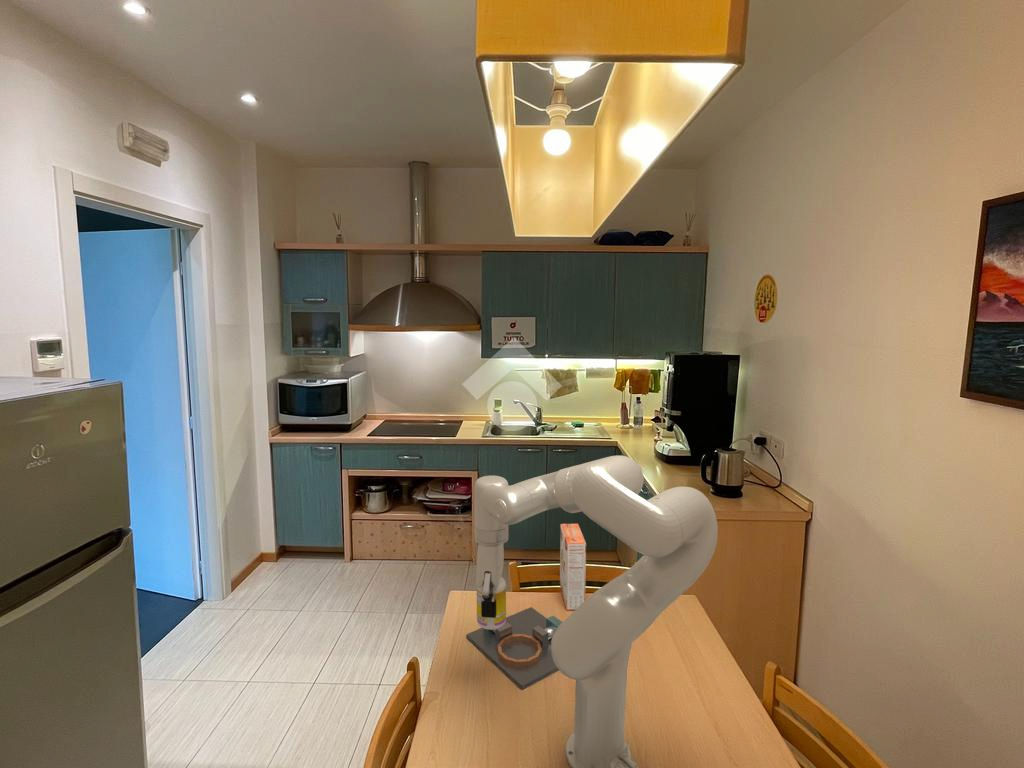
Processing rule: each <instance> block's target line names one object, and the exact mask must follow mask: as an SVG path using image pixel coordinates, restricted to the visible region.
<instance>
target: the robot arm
mask: <svg viewBox="0 0 1024 768" xmlns="http://www.w3.org/2000/svg"><path fill="white" fill-rule="evenodd" d="M644 479H645V478H644V472H643V468H642V467H641V466H640V465H639V463H638V462H637V461H635V460H634V459H633V458H631V457H630V456H625V455H611V456H606V457H602V458H599V459H595V460H592V461H588V462H584V463H581V464H577V465H573V466H569V467H565V468H562V469H559V470H557V471H554V472H550V473H546V474H542V475H539V476H536V477H535V476H534V477H532V478H529V479H525V480H523V481H519V482H517V483H514V484H512V485H509V482H508V480H507V479H506V478H505V477H503V476H499V475H485V476H481V477H479V478H477V480H476V481H475V482H474V490H473V492H474V497H473V498H474V499H473V500H474V501H473V503H474V541H475V542H476V543H477V551H476V571H475V573H476V575H475V576H476V577H475V586H476V589H477V588H479V587H480V588H481V586H482V584H483V587H482V600H481V616H482V617H488V618H495V617H496V600H495V589H496V588H497V587H498V585H499V582H500V579H501V577H502V574H503V570H504V558H505V557H504V544H505V543H507V542H508V541H509V526H510V525H515V524H518V523H521V522H523V521H524V520H527V519H529V518H531V517H533V516H535V515H537V514H538V515H539V514H540V513H543V512H546V511H549V510H552V509H558V508H561V509H563V511H565V512H567V513H570V514H575V513H576V514H577V513H580V512H582V513H583V514H584V515H585V516H586V517H588V518H589V519H590V520H591V521H593V522H594V523H596V524H597V525H598V526H600V527H601V528H602V529H604V530H606V531H607V532H608V533H610V534H611V535H613V536H614V537H616V538H617V539H618V540H620V541H621V542H622V543H624V544H625V545H627V546H628V547H630V548H631V549H632V550H634V551H636V552H638V553H639V554H641V555H642V556H641V557H640V559H639V560H637V561H636V562H635V563H633V564H632V566H631V567H630V568H628V569H627V570H626V571H625V572H624V573H621V574H620V575H618V576H617V577H614V578H613V579H611V580H609V581H608V582H607V583H605V584H604V585H602V586H601V587H600V588H598V590H596V591H594V592H593V593H592V594H591V595H589V596H588V597H587V598H585V601H584V602H583V603H582V604H581V605H580V606H579V607H578V608H577V609H576V610H573V612H571V613H570V615H569V616H568V617H567V618H565V620H563V621H562V622H563V623H562V624H561V625H560V626H559V627H558V628H557V629H556V630H555V632H554V634H553V636H552V640H551V654H552V658H553V661H554V663H555V665H556V667H557V668H558V669H559V672H560V673H562V675H564V676H566V677H567V678H569V679H572V680H575V695H574V697H575V699H574V729H573V732H572V733H571V734H570V735H569V737H568V738H567V741H566V744H565V756H566V760H567V763H568V764H569V766H570V768H638V764H637V763H636V762H635V761H634V760H633V759H632V752H631V749H630V747H629V744H628V742H627V741H626V740H625V722H626V721H625V720H626V719H625V718H626V700H627V699H626V698H627V680H628V666H629V658H630V653H631V650H632V645H633V643H634V642H635V641H636V640H637V639H638V638H640V637H641V636H642V635H643V633H645V632H646V630H648V628H650V627H651V625H652V624H653V623H654V622H655V621H656V620H657V618H658V617H659V616H660V615H661V614H662V613H663V612H664V611H665V610H666V609H668V607H669V606H670V605H672V604H673V603H674V602H675V601H676V600H677V599H679V597H680V596H681V595H683V594H684V593H685V591H687V590H688V589H689V588H690V587H692V585H693V584H694V583H695V582H696V581H697V580H698V579H699V578H700V577H701V575H702V574H703V573H704V572H705V570H706V569H707V567H708V566H709V564H710V562H711V560H712V559H713V555H714V554H715V551H716V548H717V547H716V546H717V543H718V538H719V537H718V535H719V533H718V532H719V530H718V529H719V528H718V521H717V515H716V512H715V510H714V508H713V504H712V503H711V502H710V500H709V498H708V496H706V495H705V494H704V493H703V492H702V491H700V490H699V489H697V488H694V487H690V486H682V485H681V486H676V487H671V488H669V489H666V490H663V491H662V492H660V493H658V494H655V495H654V496H653V497H651V498H649V499H645V498H644V497H642V496H640V495H639V494H640V493H641V491H642V490H643V489H642V488H643V486H644V481H645V480H644ZM501 573H502V574H501ZM490 583H493V586H490ZM490 589H492V594H491V593H490Z"/></svg>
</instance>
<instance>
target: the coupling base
mask: <svg viewBox="0 0 1024 768" xmlns="http://www.w3.org/2000/svg"><path fill="white" fill-rule="evenodd" d="M563 622H564V621H562V620H560V619H559V618H558V617H557V616H555V615H551V616H549V617H546V616H544V615H543V614H541V613H540V612H539V611H538V610H536V609H535V608H533V607H532V606H530V607H528V608H525V609H524V610H521V611H519V612H516V613H513V614H511V615H509V616H506V622H505V624H504V625H503V626H502V627H500V628H498V629H493V630H489V629H484V628H482V627H480V628H478V629H476V630H474V631H473V630H472V631H471V632H468V633H466V635H465V637H466V639H467V640H468V641H469V642H470V643H471V644H472V645H473V646H474V647H476V648H477V650H479V651H480V652H481V653H482V654H483V655H484V656H485V657H486V658H487V659H488V660H489V661H490V662H491V663H492V664H494V665H495V666H496V667H497V668H498V669H499V670H500V671H501V672H502V673H503V674H504V675H505V676H506V677H507V678H508V679H510V681H512V682H513V684H515V685H516V686H517V687H518V688H519V690H521V691H523V690H525V689H527V688H529V687H530V686H532V685H534V684H536V683H538V682H541V680H543V679H545V678H547V677H549V676H551V675H553V674H555V673H556V672H558V671H559V669H558V668H557V667H556V665H555V663H554V661H553V658H552V654H551V640H552V636H553V634H554V632H555V630H556V629H557V628H558V627H559V626H560V625H561V624H562V623H563ZM559 672H560V671H559Z"/></svg>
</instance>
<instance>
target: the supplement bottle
mask: <svg viewBox="0 0 1024 768" xmlns="http://www.w3.org/2000/svg"><path fill="white" fill-rule="evenodd" d="M501 574H503V572H502V573H501ZM490 586H493V583H490ZM482 587H483V584H482V586H481V588H480V587H479V588H477V587H476V622H477V624H478V626H479V627H480V628H484V629H489V630H493V629H498V628H500V627H502V626H503V625H504V624H505V622H506V617H507V582H506V580H505V579H504V578H503V577H502V576H501V579H500V582H499V585H498V587H497V588H496V589H495V600H496V617H495V618H488V617H482V616H481V600H482ZM490 593H491V594H492V589H490Z"/></svg>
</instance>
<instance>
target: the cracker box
mask: <svg viewBox="0 0 1024 768" xmlns="http://www.w3.org/2000/svg"><path fill="white" fill-rule="evenodd" d="M559 529H560V531H559V532H560V535H559V536H560V537H559V538H560V543H559V545H560V548H559V553H560V554H559V557H560V560H559V565H560V566H559V586H560V590H561V595H562V598H563V603H564V606H565V610H566V611H575V610H576V609H577V608H578V607H579V606H580V605H581V604H582V603H583V602H584V601H585V600H586V575H587V574H586V570H587V569H586V566H587V563H586V562H587V543H586V542H587V541H586V540H585V538H584V534H583V533H582V529H581V527H580V526H579V523H560V527H559Z"/></svg>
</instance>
